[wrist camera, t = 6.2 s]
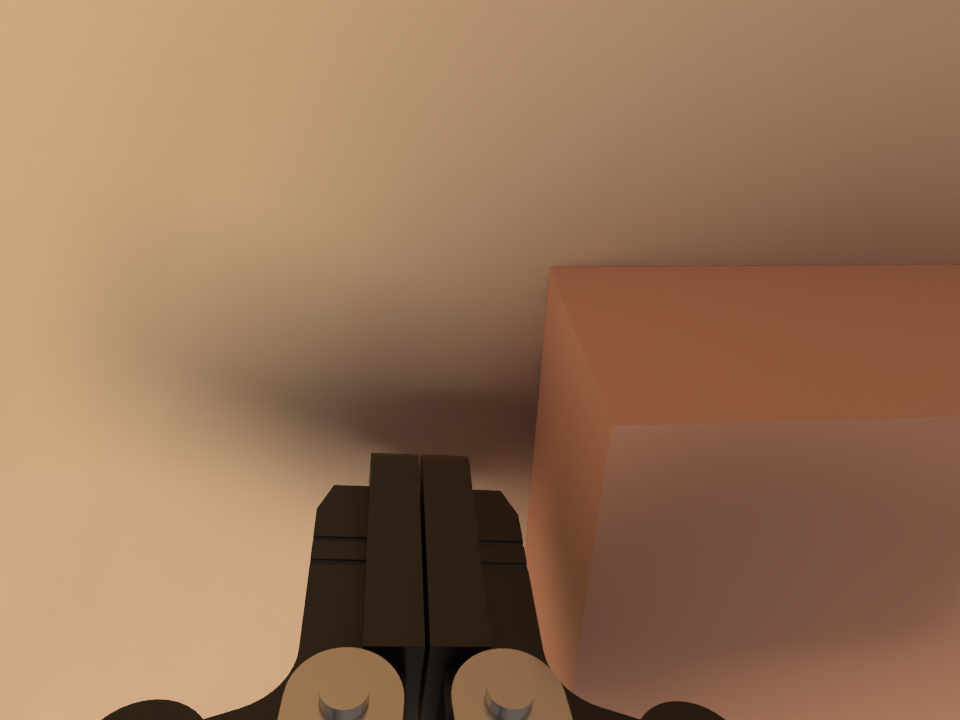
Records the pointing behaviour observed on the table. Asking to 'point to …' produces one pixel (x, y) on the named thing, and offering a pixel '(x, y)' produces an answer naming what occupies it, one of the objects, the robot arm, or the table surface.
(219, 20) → the table surface
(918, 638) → the terracotta block
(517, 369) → the table surface
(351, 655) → the robot arm
